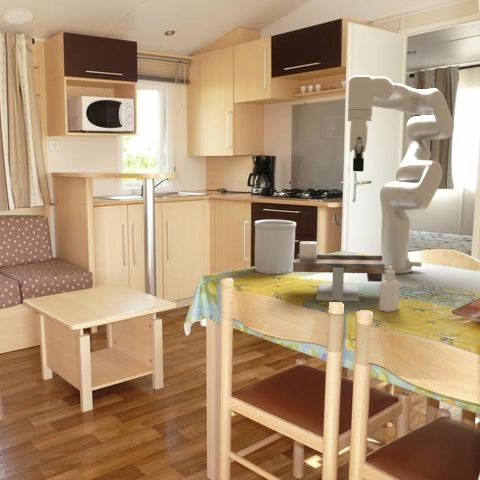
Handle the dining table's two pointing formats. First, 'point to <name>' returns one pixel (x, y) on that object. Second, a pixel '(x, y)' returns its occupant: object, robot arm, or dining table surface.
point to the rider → (308, 251)
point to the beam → (345, 265)
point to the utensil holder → (274, 246)
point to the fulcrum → (337, 289)
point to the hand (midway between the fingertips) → (358, 170)
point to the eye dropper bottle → (389, 292)
